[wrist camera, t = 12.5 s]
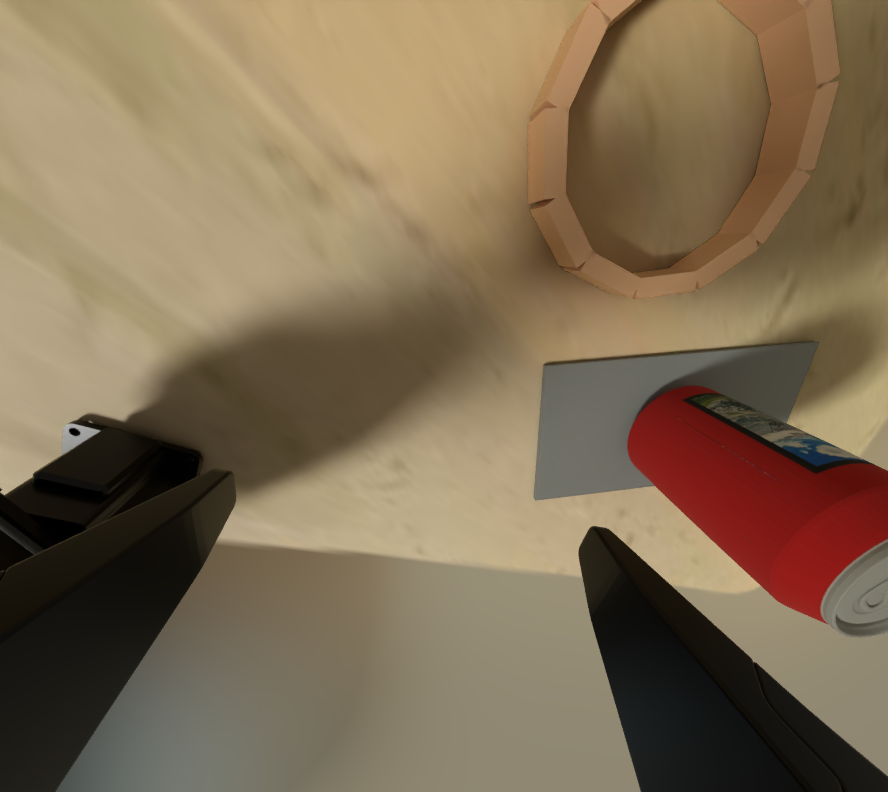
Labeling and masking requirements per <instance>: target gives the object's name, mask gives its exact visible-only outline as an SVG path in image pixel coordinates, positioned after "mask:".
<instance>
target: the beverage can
mask: <svg viewBox="0 0 888 792" xmlns="http://www.w3.org/2000/svg"><path fill="white" fill-rule="evenodd" d="M627 450H628V455H629V458H630V460H631V462H632V463H633V465H634V466H635V467H636V468H637V469H638V470H639V471H640V472H641V473H642V474H643V475H644V476H645V477H646V478H647V479H649V480H650V481H651V482H652V483H653V484H654V485H655V486H656V487H657V488H658V489H659V490H660V491H661V492H662V493H663V494H664V495H665V496H666V497H667V498H668V499H669V500H670V501H671V502H672V503H673V504H674V505H675V506H677V507H678V508H679V509H680V510H681V511H682V512H683V513H684V514H685V515H686V516H687V517H688V518H689V519H690V520H691V521H692V522H693V523H694V524H696V525H697V526H698V527H699V528H700V529H701V530H702V531H703V532H704V533H705V534H706V535H707V536H708V537H709V538H710V539H711V540H712V541H713V542H715V543H716V544H717V545H718V546H719V547H720V548H721V549H722V550H723V551H724V552H725V553H726V554H727V555H728V556H729V557H731V558H732V559H733V560H734V561H735V562H736V563H737V564H738V565H739V566H740V567H741V568H742V569H743V570H745V571H746V572H747V573H748V574H749V575H750V576H751V577H752V578H753V579H754V580H755V581H756V582H757V583H759V584H760V585H761V586H762V587H763V588H764V589H765V590H766V591H768V592H769V594H770V595H772V596H773V597H774V598H775V599H776V600H777V601H778V602H780V603H782V604H783V605H785V606H787V607H789V608H792V609H794V610H796V611H798V612H801V613H803V614H805V615H808V616H810V617H812V618H815V619H817V620H819V621H822V622H824V623H827V624H829V625H830V626H831V627H833V628H834V629H835V630H836V631H837V632H839V633H840V634H843V635H845V636H849V637H858V638H861V637H871V636H876V635H880V634H884V633H887V632H888V471H887V470H885V469H882V468H880V467H878V466H876V465H874V464H872V463H870V462H868V461H866V460H864V459H861V458H859V457H857V456H855V455H853V454H851V453H849V452H847V451H845V450H842V449H840V448H838V447H836V446H834V445H832V444H830V443H828V442H825V441H823V440H821V439H819V438H817V437H815V436H812V435H810V434H808V433H806V432H804V431H802V430H799V429H797V428H795V427H793V426H791V425H789V424H787V423H784V422H782V421H780V420H778V419H776V418H774V417H771V416H769V415H767V414H765V413H763V412H761V411H758V410H756V409H754V408H752V407H750V406H747V405H745V404H743V403H741V402H739V401H736V400H734V399H732V398H730V397H727V396H725V395H723V394H721V393H718V392H716V391H714V390H712V389H709V388H707V387H703V386H695V385H691V386H683V387H679V388H675V389H673V390H670V391H668V392H666V393H664V394H662V395H660V396H659V397H657V398H656V399H654V400H653V401H652V402H650V403H649V404H648V405H647V406H646V407H645V408H644V409H643V410H642V411H641V413H640V414H639V415H638V417H637V418H636V420H635V421H634V423H633V425H632V427H631V429H630V432H629V436H628V441H627Z"/></svg>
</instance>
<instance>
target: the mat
mask: <svg viewBox="0 0 888 792" xmlns="http://www.w3.org/2000/svg"><path fill="white" fill-rule="evenodd" d="M818 344H819V342H814V341H813V342H801V343H789V344H778V345H766V346H755V347H743V348H731V349H720V350H708V351H696V352H685V353H673V354H662V355H650V356H638V357H627V358H615V359H604V360H592V361H580V362H569V363H557V364H545V365H544V368H543V382H542V395H541V408H540V422H539V435H538V448H537V462H536V475H535V489H534V499H535V500H543V499H552V498H560V497H568V496H576V495H584V494H592V493H600V492H608V491H617V490H625V489H633V488H641V487H649V486H655V485H654V484H653V483H652V482H651V481H650V480H649V479H647V478H646V477H645V476H644V475H643V474H642V473H641V472H640V471H639V470H638V469H637V468H636V467H635V466H634V465H633V463H632V462H631V460H630V458H629V455H628V450H627V441H628V436H629V432H630V429H631V427H632V425H633V423H634V421H635V420H636V418H637V417H638V415H639V414H640V413H641V411H642V410H643V409H644V408H645V407H646V406H647V405H648V404H649V403H650V402H652V401H653V400H654V399H656V398H657V397H659V396H660V395H662V394H664V393H666V392H668V391H670V390H673V389H675V388H679V387H683V386H691V385H695V386H703V387H707V388H709V389H712V390H714V391H716V392H718V393H721V394H723V395H725V396H727V397H730V398H732V399H734V400H736V401H739V402H741V403H743V404H745V405H747V406H750V407H752V408H754V409H756V410H758V411H761V412H763V413H765V414H767V415H769V416H771V417H774V418H776V419H778V420H780V421H782V422H784V423H787V420H788V418H789V416H790V413H791V411H792V408H793V406H794V403H795V401H796V398H797V396H798V393H799V391H800V388H801V386H802V383H803V381H804V378H805V376H806V374H807V371H808V369H809V366H810V364H811V361H812V359H813V356H814V354H815V351H816V349H817V346H818Z"/></svg>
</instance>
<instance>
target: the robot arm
mask: <svg viewBox="0 0 888 792" xmlns="http://www.w3.org/2000/svg"><path fill="white" fill-rule="evenodd" d="M76 429H78V430H79V431H80V432H79V431H77V430H76ZM189 457H191V458H193V459H194V461H192V460H190V459H189ZM202 460H203V456H202V455H201V453H199V452H198V451H196V450H193V449H189V448H185V447H181V446H177V445H173V444H169V443H166V442H162V441H158V440H154V439H150V438H146V437H143V436H139V435H135V434H131V433H127V432H123V431H120V430H116V429H112V428H108V427H104V426H100V425H96V424H93V423H89V422H85V421H80V420H75V421H72V422H70V423H69V424H67V425H65V426H64V429H63V442H62V455H61V456H60V457H58V458H57V459H55V460H53V461H52V462H50V463H49V464H47V465H45V466H44V467H42V468H41V469H39V470H37V471H36V472H35V473H34V474H33V477H32V478H30V479H29V480H27V481H26V482H24V483H23V484H21V485H19V486H18V487H16V488H15V489H13V490H12V491H10V492H9V493H7V494H5V495H3V494H2V493H1V492H0V792H55V791H56V790H57V788H58V787H59V786H60V784H61V782H62V781H63V779H64V778H65V776H66V775H67V773H68V772H69V770H70V769H71V767H72V766H73V764H74V763H75V761H76V760H77V758H78V757H79V755H80V754H81V752H82V750H83V749H84V747H85V746H86V744H87V743H88V741H89V740H90V738H91V737H92V735H93V734H94V732H95V731H96V729H97V728H98V726H99V725H100V723H101V721H102V720H103V718H104V717H105V715H106V714H107V712H108V711H109V709H110V708H111V706H112V705H113V703H114V702H115V700H116V699H117V697H118V695H119V694H120V692H121V691H122V689H123V688H124V686H125V685H126V683H127V682H128V680H129V679H130V677H131V676H132V674H133V673H134V671H135V670H136V668H137V667H138V665H139V664H140V662H141V660H142V659H143V657H144V656H145V654H146V653H147V651H148V650H149V648H150V647H151V645H152V644H153V642H154V641H155V639H156V638H157V636H158V635H159V633H160V632H161V630H162V628H163V627H164V625H165V624H166V622H167V621H168V619H169V618H170V616H171V615H172V613H173V612H174V610H175V609H176V607H177V606H178V604H179V603H180V601H181V599H182V598H183V596H184V595H185V593H186V592H187V590H188V589H189V587H190V586H191V584H192V583H193V581H194V580H195V578H196V576H197V575H198V573H199V572H200V570H201V568H202V567H203V565H204V563H205V561H206V559H207V558H208V556H209V554H210V552H211V550H212V548H213V546H214V544H215V542H216V540H217V538H218V537H219V535H220V533H221V531H222V529H223V527H224V525H225V523H226V521H227V519H228V517H229V515H230V513H231V512H232V510H233V508H234V505H235V502H236V489H235V478H234V474H233V473H232V472H231V471H226V470H219V469H213V470H211V471H208V472H206V473H204V474H202V475H200V476H199V474H200V470H201V465H202ZM1 490H2V489H1V488H0V491H1ZM579 561H580V566H581V572H582V577H583V582H584V587H585V593H586V598H587V603H588V608H589V613H590V617H591V621H592V625H593V628H594V632H595V635H596V639H597V642H598V645H599V649H600V653H601V656H602V659H603V663H604V666H605V670H606V673H607V677H608V680H609V683H610V687H611V690H612V694H613V697H614V700H615V704H616V707H617V711H618V714H619V718H620V721H621V725H622V728H623V732H624V735H625V738H626V742H627V745H628V749H629V752H630V756H631V759H632V762H633V766H634V769H635V772H636V776H637V779H638V783H639V786H640V790H641V792H888V776H887V775H886V774H884V773H883V772H882V771H881V770H880V769H878V768H877V767H876V766H875V765H873V764H872V763H871V762H870V761H869V760H868V759H866V758H865V757H864V756H863V755H862V754H860V753H859V752H858V751H857V750H856V749H854V748H853V747H852V746H850V744H848V743H847V742H846V741H845V740H844V739H842V738H841V737H840V736H839V735H838V734H836V733H835V732H834V731H833V730H832V729H831V728H829V727H828V726H827V725H826V724H825V723H824V722H822V721H821V720H820V719H819V718H818V717H817V716H815V715H814V714H813V713H812V712H811V711H809V710H808V709H807V708H806V707H805V706H804V705H803V704H801V703H800V702H799V701H798V700H797V699H796V698H795V697H794V696H793V695H791V694H790V693H789V692H788V691H787V690H786V689H785V688H783V687H782V686H781V685H780V684H779V683H778V682H777V681H776V680H775V679H773V678H772V677H771V676H770V675H769V674H768V673H767V672H766V671H765V670H764V669H763V668H761V667H760V666H759V665H758V664H757V663H755V662H753V661H752V659H751V658H750V657H749V656H748V655H747V654H746V653H745V652H744V651H743V650H741V649H740V648H739V647H738V646H737V645H736V644H735V643H734V642H733V641H732V640H730V639H729V638H728V637H727V636H726V635H725V634H724V633H723V632H722V631H721V630H719V629H718V628H717V627H716V626H715V625H714V624H713V623H712V622H711V621H709V620H708V619H707V618H706V617H705V616H704V615H703V614H702V613H701V612H700V611H699V610H697V609H696V608H695V607H694V606H693V605H692V604H691V603H690V602H688V601H687V600H686V599H685V598H684V597H683V596H682V595H681V594H680V593H678V592H677V590H675V589H674V588H673V587H672V586H671V585H670V584H669V583H668V582H667V581H666V580H664V579H663V578H662V577H661V576H660V575H659V574H658V573H657V572H656V571H654V570H653V569H652V568H651V567H650V566H649V565H648V564H647V563H646V562H645V561H643V560H642V559H641V558H640V557H639V556H638V555H637V554H636V553H635V552H634V551H632V550H631V549H630V548H629V547H628V546H627V545H626V544H625V543H624V542H623V541H621V540H620V539H619V538H618V537H617V536H616V535H615V534H614V533H613V532H612V531H610V530H609V529H607V528H603V527H597V526H592V527H591V528H589V530H588V532H587V534H586V536H585V537H584V539H583V541H582V543H581V545H580V547H579Z"/></svg>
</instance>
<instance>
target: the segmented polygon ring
mask: <svg viewBox="0 0 888 792" xmlns="http://www.w3.org/2000/svg"><path fill="white" fill-rule="evenodd" d="M641 1H642V0H590V2H589V3H588V4H587V6H586V7H585V8H584V9H583V11H582V12H581V13H580V14H579V16H578V17H577V18H576V19H575V21H574V22H573V23H572V25H571V27H570V28H569V29H568V30H567V32H566V34H565V36H564V38H563V40H562V43H561V45H560V47H559V50H558V52H557V54H556V57H555V59H554V61H553V64H552V66H551V68H550V71H549V73H548V75H547V78H546V80H545V82H544V85H543V87H542V89H541V91H540V94H539V96H538V98H537V101H536V103H535V105H534V108H533V110H532V112H531V115H530V118H532V119H533V120H532V121H531V122H530V123H529V124H528V204H534V203H538V204H537V205H536V206H534V207H533V208H532V209H531V210H530V212H531V214H532V216H533V217H534V219H535V221H536V223H537V225H538V227H539V229H540V231H541V232H542V234H543V236H544V238H545V240H546V242H547V244H548V246H549V248H550V249H551V251H552V253H553V255H554V257H555V259H556V261H557V263H558V265H559V266H564V267H563V269H564V270H566V271H567V272H569V273H571V274H573V275H575V276H577V277H579V278H581V279H583V280H585V281H587V282H589V283H591V284H592V285H594V286H596V287H598V288H600V289H602V290H604V291H606V292H608V293H611V294H615V295H619V296H624V297H628V298H633V299H640V298H648V297H655V296H663V295H670V294H678V293H685V292H693V291H695V289H701V288H703V287H704V286H706V285H707V284H708V283H710V282H711V281H713V280H714V279H716V278H717V277H719V276H720V275H722V274H723V273H724V272H726V271H727V270H729V269H730V268H732V267H733V266H735V265H736V264H738V263H739V262H741V261H742V260H743V259H745V258H746V257H748V256H749V255H751V254H752V253H754V252H755V251H757V250H758V245H757V244H764V243H765V241H766V240H767V238H768V237H769V235H770V234H771V233H772V231H773V230H774V228H775V227H776V225H777V224H778V223H779V221H780V220H781V218H782V217H783V216H784V214H785V213H786V211H787V210H788V208H789V207H790V206H791V204H792V203H793V201H794V200H795V198H796V197H797V196H798V194H799V193H800V191H801V190H802V188H803V187H804V186H805V184H806V183H807V181H808V180H809V178H810V177H811V176H810V175H809V174H808V173H806V172H805V171H809V170H814V169H815V166H816V162H817V159H818V155H819V152H820V148H821V145H822V141H823V138H824V134H825V131H826V127H827V124H828V120H829V117H830V113H831V110H832V106H833V103H834V99H835V96H836V92H837V89H838V85H839V82H840V81H839V82H829V81H831V80H832V79H834V78H835V77H836V76H838V75H839V74H840V67H839V59H838V51H837V43H836V36H835V28H834V20H833V12H832V4H831V0H718V1H719V2H720V3H721V4H722V5H723V6H724V7H726V8H727V9H728V10H729V11H730V12H731V13H732V14H733V15H734V16H736V17H737V18H738V19H739V20H740V21H741V22H742V23H743V24H744V25H746V26H747V27H748V28H749V29H750V30H751V31H752V32H753V33H754V34H756V35H757V38H758V43H759V48H760V53H761V58H762V62H763V67H764V72H765V77H766V82H767V87H768V91H769V96H770V101H771V107H770V112H769V116H768V121H767V125H766V129H765V134H764V138H763V143H762V147H761V151H760V156H759V160H758V165H757V169H756V173H755V177H754V178H753V180H752V181H751V183H750V184H749V186H748V187H747V189H746V190H745V192H744V194H743V195H742V197H741V198H740V200H739V201H738V203H737V204H736V206H735V207H734V209H733V210H732V212H731V213H730V215H729V217H728V218H727V220H726V221H725V223H724V224H723V226H722V227H721V229H720V230H719V232H718V233H717V234H716V235H715V236H714V237H712V238H711V239H709V240H708V241H707V242H705V243H704V244H702V245H701V246H699V247H698V248H697V249H695V250H694V251H692V252H691V253H690V254H688V255H687V256H685V257H684V258H682V259H681V260H680V261H678V262H677V263H675V264H674V265H672V266H671V267H670V268H668V269H660V270H652V271H645V272H637V273H631V272H629V271H627V270H625V269H623V268H621V267H620V266H618V265H616V264H614V263H612V262H611V261H609V260H607V259H605V258H603V257H601V256H600V255H598V254H596V253H594V252H593V250H592V248H591V246H590V244H589V241H588V239H587V237H586V235H585V233H584V231H583V229H582V227H581V225H580V223H579V220H578V218H577V216H576V214H575V212H574V210H573V208H572V206H571V204H570V202H569V199H568V197H567V195H566V173H567V144H568V116H569V109H570V107H571V104H572V102H573V100H574V98H575V96H576V94H577V91H578V89H579V87H580V85H581V83H582V81H583V78H584V76H585V74H586V72H587V70H588V68H589V65H590V63H591V61H592V59H593V57H594V55H595V53H596V50H597V48H598V46H599V44H600V42H601V40H602V37H603V35H604V33H605V31H606V30H607V29H609V28H610V27H611V26H612V25H613V24H615V23H616V22H617V21H618V20H619V19H620V18H622V17H623V16H624V15H625V14H626V13H628V12H629V11H630V10H631V9H632V8H633V7H635V6H636V5H637V4H638V3H639V2H641Z"/></svg>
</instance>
